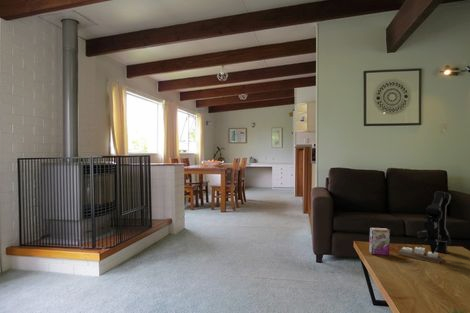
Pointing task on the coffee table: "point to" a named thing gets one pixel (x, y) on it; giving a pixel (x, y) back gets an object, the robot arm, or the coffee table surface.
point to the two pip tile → (419, 250)
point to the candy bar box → (379, 241)
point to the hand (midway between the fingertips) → (432, 252)
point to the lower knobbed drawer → (432, 254)
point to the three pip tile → (407, 249)
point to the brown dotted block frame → (420, 256)
